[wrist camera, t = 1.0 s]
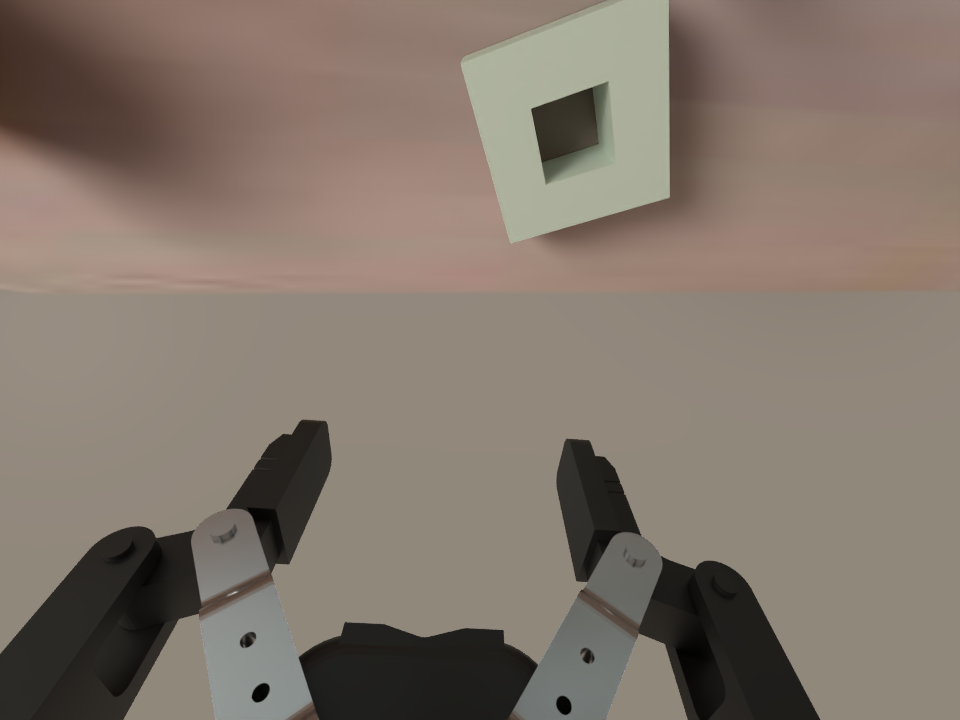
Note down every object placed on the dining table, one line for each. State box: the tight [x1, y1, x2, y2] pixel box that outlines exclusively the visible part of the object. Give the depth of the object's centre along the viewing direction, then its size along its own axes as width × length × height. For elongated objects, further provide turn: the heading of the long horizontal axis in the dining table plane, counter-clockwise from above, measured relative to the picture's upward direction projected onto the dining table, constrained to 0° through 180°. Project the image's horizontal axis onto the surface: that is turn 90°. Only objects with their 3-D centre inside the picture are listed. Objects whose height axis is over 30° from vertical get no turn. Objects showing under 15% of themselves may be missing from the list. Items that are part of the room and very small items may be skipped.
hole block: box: [461, 0, 670, 244], centre depth 27 cm, size 11×11×5 cm
